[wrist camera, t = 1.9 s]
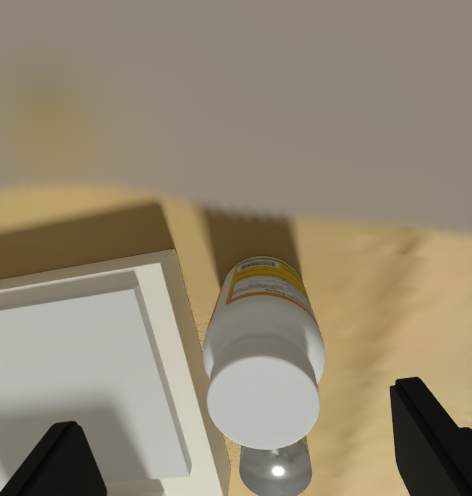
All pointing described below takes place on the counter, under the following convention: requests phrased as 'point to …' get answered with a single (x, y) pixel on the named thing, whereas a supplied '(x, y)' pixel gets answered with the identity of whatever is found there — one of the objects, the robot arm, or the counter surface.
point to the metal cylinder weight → (276, 469)
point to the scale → (111, 375)
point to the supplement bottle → (263, 356)
